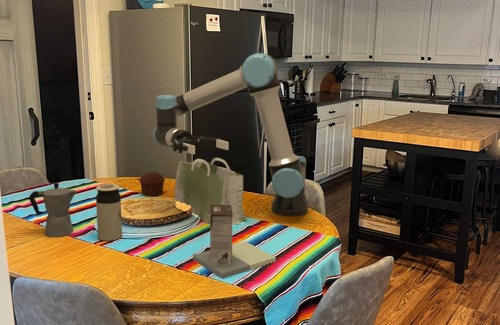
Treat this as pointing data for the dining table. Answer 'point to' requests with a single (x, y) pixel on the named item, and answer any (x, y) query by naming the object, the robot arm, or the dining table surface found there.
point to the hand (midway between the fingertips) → (211, 148)
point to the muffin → (152, 184)
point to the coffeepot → (55, 210)
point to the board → (237, 260)
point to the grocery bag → (209, 188)
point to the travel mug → (108, 212)
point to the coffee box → (221, 235)
